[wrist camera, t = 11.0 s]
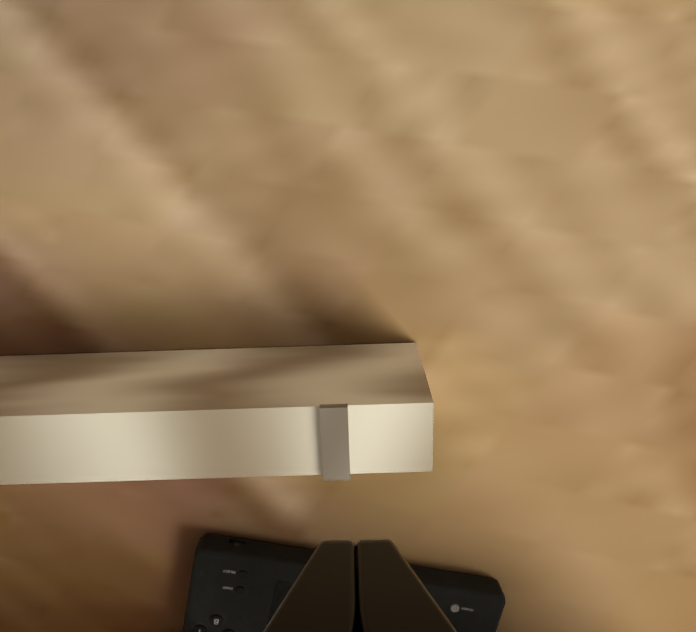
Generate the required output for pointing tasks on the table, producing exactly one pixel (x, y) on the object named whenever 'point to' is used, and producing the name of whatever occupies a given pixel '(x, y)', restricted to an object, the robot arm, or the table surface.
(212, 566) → the handheld gaming console
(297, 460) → the rail
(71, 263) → the table surface
